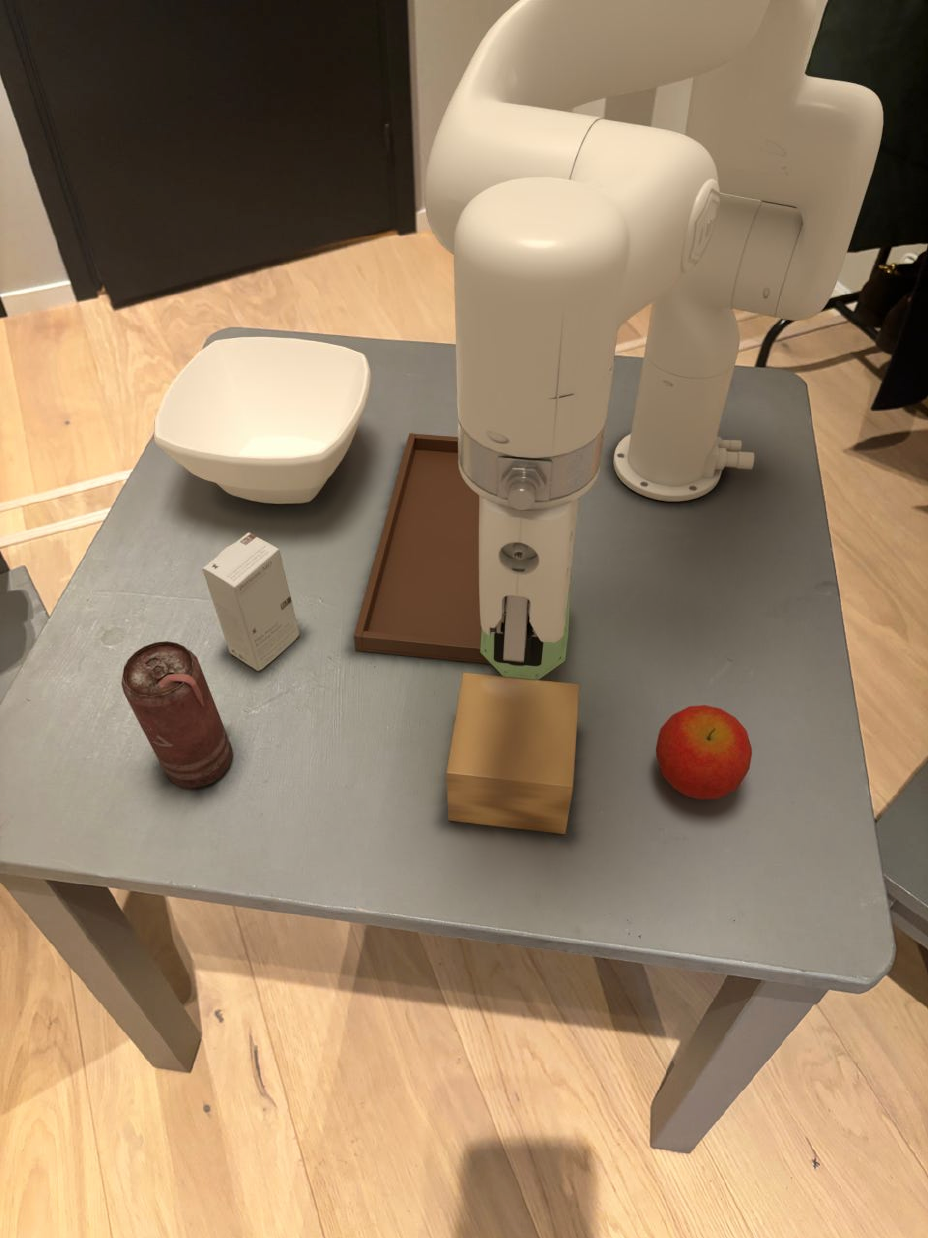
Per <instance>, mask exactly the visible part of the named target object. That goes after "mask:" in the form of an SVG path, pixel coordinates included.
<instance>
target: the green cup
mask: <svg viewBox="0 0 928 1238" xmlns="http://www.w3.org/2000/svg"><path fill="white" fill-rule="evenodd" d="M572 572H573V567H572V566H571V575H570V583H569V592H568V600H567V609H566V619H565V628H564V634H563V636H562V638H561V639H560V640H558V641H557V642H556V643H552V642H544V643H543V653H542V663H541V665H540V666H527V665H525V666H515V665H510V664H507V663H498V662H496V661H495V660H494V633H491V635H490V636H488V635H487V634H486V633H485V632H484V630H483V629H482V632H481V648H480V652H481V654H482V655H483V656H484V657H485V658H486V659H487V660H488V661H489V662H490V663H491V664H490V665H492V666H493V667H494V668H495V670H497V672H499V674H500V675H501V676H502V677H512V678H522V679H531V680H540V679H542V678H544V677H545V676H546V675H547V674H549V673H550V672H551V671H553V670H555V669H556V668H558V667H559V666H560V665H561V664H563V663H564V662H565V661H566V659H567V658H566V657H567V649H568V639H569V629H570V612H571V611H570V609H571V591H572Z"/></svg>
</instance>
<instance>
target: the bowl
mask: <svg viewBox="0 0 928 1238" xmlns="http://www.w3.org/2000/svg"><path fill="white" fill-rule="evenodd" d="M371 372H372V371H371V369H370V365H369V361H368V358H367V356H366V355H365V354H363V353H362V352H359V351H357V350H353V349H351V348H349V347H346V346H341V345H338V344H332V343H327V342H323V341H315V340H309V339H302V338H293V337H292V338H291V337H272V336H241V337H240V336H239V337H233V338H222V339H217V340H214V341H213V342H211V343H210V344H208V345H206V346H205V347H204V348H203V349H201V350H200V351H198V352H197V353H196V354H195V355H194V356H193V357H192V358H191V359H190V360H189V362H187V363H186V365H185V366H183V368H182V369H181V370H180V371H179V373H178V374H177V376H175V378H174V379H173V380H172V382H171V383H170V385H169V387H168V388H167V390H166V392H165V394H164V396H163V398H162V400H161V402H160V405H159V408H158V411H157V413H156V416H155V419H154V422H153V440H154V444H155V445H156V446H157V447H159V448H160V449H161V450H163V451H164V452H165V453H166V454H168V456H170V457H171V458H172V459H174V460H175V461H176V462H177V463H178V464H179V465H181V466H182V467H184V468H185V469H186V470H187V471H188V472H189V473H191V474H192V475H194V476H196V477H198V478H200V479H202V480H205V481H208V482H211V483H215V484H216V485H218V486H219V487H220V488H221V489H222V490H223V491H224V492H225V493H226V494H229V495H231V496H233V497H237V498H241V499H243V500H244V499H245V500H248V501H251V502H257V503H264V504H276V505H283V504H284V505H285V504H286V505H287V504H305V503H309V502H311V501H313V499H315V498H316V497H317V495H318V494H319V492H321V489H323V487H324V485H325V484H327V481H328V479H329V478H330V477H331V476H332V475H333V474H334V472H335V471H336V469H337V468H338V467H339V465H340V464H341V462H342V461H343V459H344V458H345V456H346V454H347V452H348V450H349V449H350V446H351V444H352V441H353V439H354V436H355V435H356V432H357V429H358V427H359V424H360V422H361V420H362V418H363V415H364V413H365V410H366V407H367V403H368V398H369V396H370V391H371V382H372V373H371Z"/></svg>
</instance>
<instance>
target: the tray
mask: <svg viewBox="0 0 928 1238" xmlns="http://www.w3.org/2000/svg"><path fill="white" fill-rule="evenodd" d="M385 516H386V517H385V521H384V524H383V528H382V531H381V534H380V538H379V543H378V546H377V550H376V553H375V555H374V559H373V563H372V568H371V571H370V575H369V579H368V582H367V586H366V589H365V592H364V597H363V601H362V603H361V609H360V611H359V614H358V618H357V622H356V626H355V630H354V633H353V640H354V646H355V651H357V652H367V653H376V654H387V655H395V656H396V655H397V656H407V657H418V658H426V659H436V660H445V661H446V660H447V661H456V662H466V663H476V664H485V665H486V664H487V665H492V664H491V663H490V662H489V661H488V660H487V659H486V658H485V657H484V656H483V655H482V654H481V652H480V648H481V632H482V627H481V620H480V596H479V495H478V494H477V493H476V492H474V491H473V490H472V489H471V488H470V487H469V486H468V485H467V484H466V482H465V481H464V479H463V477H462V475H461V473H460V470H459V463H458V436H447V435H435V434H423V433H408V437H407V440H406V444H405V447H404V451H403V455H402V459H401V462H400V465H399V470H398V473H397V477H396V482H395V484H394V488H393V491H392V495H391V498H390V502H389V506H388V509H387V513H386V515H385Z"/></svg>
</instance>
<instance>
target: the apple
mask: <svg viewBox="0 0 928 1238" xmlns="http://www.w3.org/2000/svg"><path fill="white" fill-rule="evenodd" d="M655 755H656V759H657V763H658V766H659V769H660V772H661V775H662V776H663V778H665V780H666V781H667V783H668V784H670V785H671V787H672V788H673V789H674V790H676V791H677V792H678V793H680V794H682V795H684V796H685V797H689V798H693V799H697V800H717V799H720V798H722V797H724V796H727V795H728V794H730V793H731V792H734V791H735V790H736V789H738V788H739V787H740V785H741V784H742V782H743V781H744V779H745V778H746V776H747V775H748V773H749V771H750V768H751V762H752V758H753V748H752V745H751V741H750V737H749V734H748V731H747V729H746V728H745V726H744V725H743V724H742V723H741V722H740V721H739V720H738V718H737V717H736V716H734V715H732V714H731V713H730V712H727V711H725V710H724V709H722V708H719V707H715V706H710V705H707V704H702V705H701V704H700V705H690V706H687V707H685V708H683V709H681V710H679V711H677V712H675V713H674V714H672V715H671V716H670V717H669V718H668V719H667V720H666V721H665V723H664V724H663V725H662V726H661V727H660V729H659V732H658V735H657V740H656V745H655Z"/></svg>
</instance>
